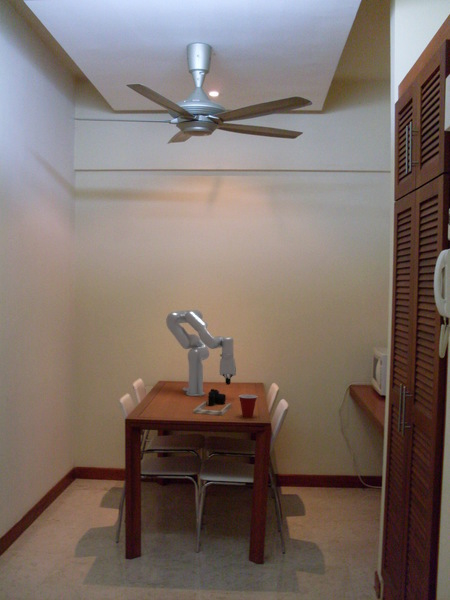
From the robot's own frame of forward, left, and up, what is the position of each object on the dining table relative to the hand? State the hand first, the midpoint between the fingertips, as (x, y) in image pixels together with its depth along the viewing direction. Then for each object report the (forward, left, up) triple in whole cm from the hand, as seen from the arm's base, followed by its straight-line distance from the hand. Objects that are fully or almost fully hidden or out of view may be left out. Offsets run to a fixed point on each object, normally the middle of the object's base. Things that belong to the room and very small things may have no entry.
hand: (228, 384), depth 354 cm
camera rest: (-1, -31, -10) cm, 32 cm away
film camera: (-3, -15, -10) cm, 18 cm away
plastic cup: (+22, -39, -10) cm, 46 cm away
